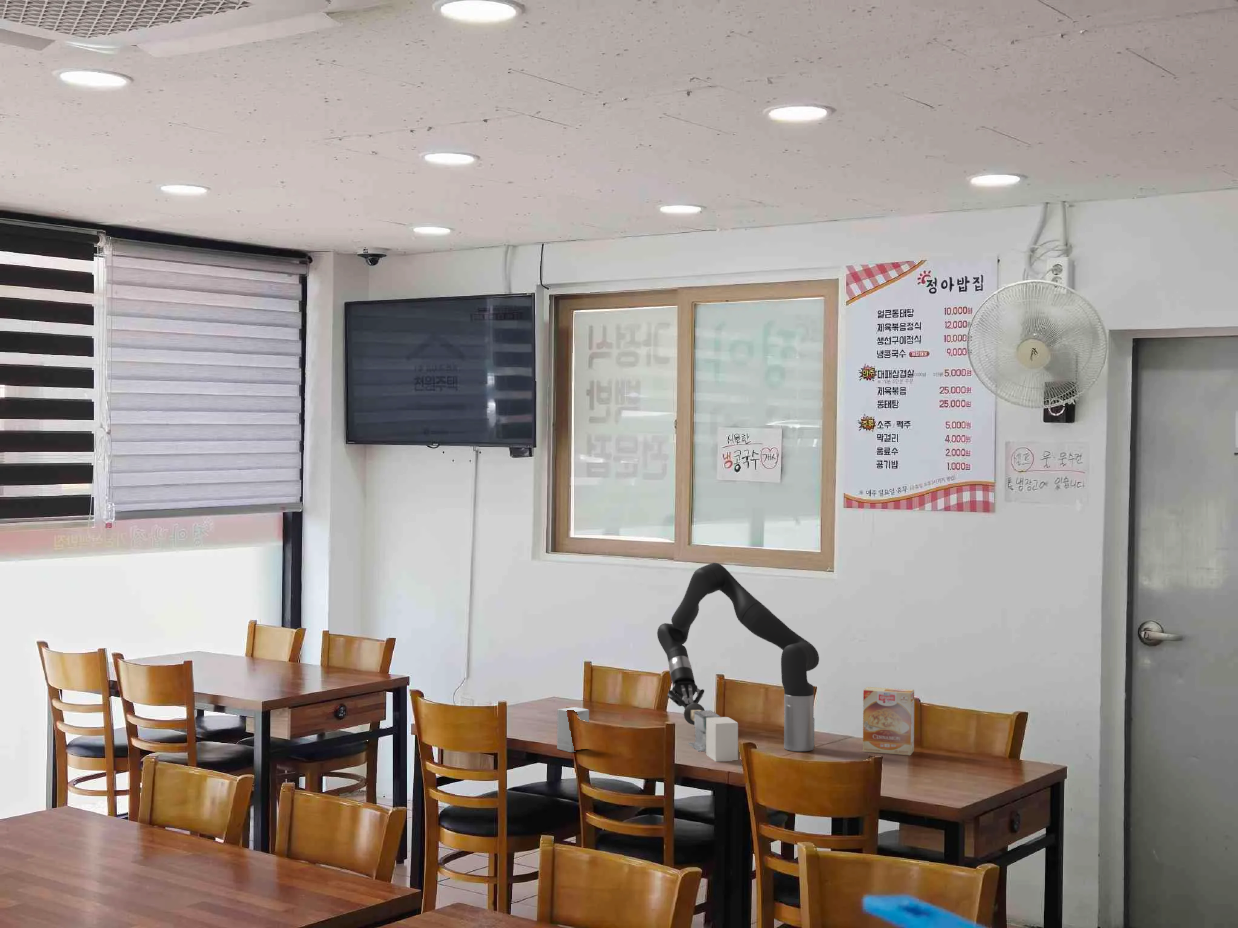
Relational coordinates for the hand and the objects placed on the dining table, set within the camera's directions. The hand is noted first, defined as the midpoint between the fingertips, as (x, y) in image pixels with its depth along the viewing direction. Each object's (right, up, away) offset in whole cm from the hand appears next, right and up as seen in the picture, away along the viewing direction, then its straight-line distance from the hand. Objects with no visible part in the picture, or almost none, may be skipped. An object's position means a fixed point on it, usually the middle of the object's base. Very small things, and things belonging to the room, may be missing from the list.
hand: (690, 714), depth 453 cm
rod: (+3, -2, -15) cm, 16 cm away
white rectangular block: (+8, -7, -34) cm, 36 cm away
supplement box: (-38, -7, -23) cm, 45 cm away
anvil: (+4, -7, -18) cm, 20 cm away
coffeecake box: (+60, -7, -24) cm, 65 cm away
